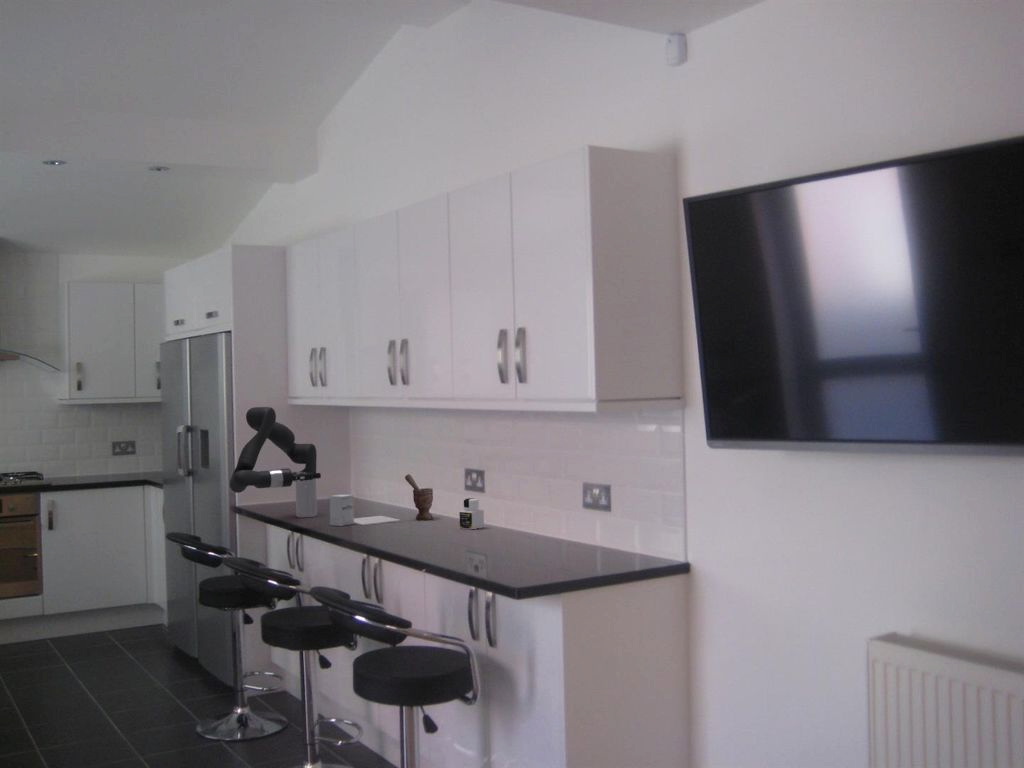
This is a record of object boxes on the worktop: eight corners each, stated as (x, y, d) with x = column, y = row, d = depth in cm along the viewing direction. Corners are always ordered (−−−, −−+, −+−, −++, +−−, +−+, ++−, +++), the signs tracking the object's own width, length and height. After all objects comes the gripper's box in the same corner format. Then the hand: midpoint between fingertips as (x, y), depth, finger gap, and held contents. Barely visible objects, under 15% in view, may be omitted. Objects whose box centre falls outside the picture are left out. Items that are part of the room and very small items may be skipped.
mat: (343, 521, 460) (343, 519, 460) (381, 516, 470) (381, 515, 470) (362, 525, 443) (362, 524, 443) (401, 521, 453) (401, 519, 453)
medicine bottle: (459, 528, 425) (458, 499, 425) (472, 526, 431) (471, 497, 431) (472, 529, 421) (471, 500, 420) (484, 527, 426) (483, 498, 426)
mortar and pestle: (414, 521, 450) (412, 475, 450) (404, 520, 457) (402, 474, 457) (437, 519, 457) (435, 473, 457) (427, 517, 464) (425, 472, 464)
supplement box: (341, 526, 444) (340, 496, 444) (329, 525, 448) (328, 495, 448) (354, 524, 450) (353, 494, 450) (342, 523, 454) (341, 493, 454)
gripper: (284, 470, 428) (324, 467, 437) (272, 468, 440) (311, 465, 449) (285, 488, 428) (324, 485, 437) (273, 486, 440) (311, 482, 449)
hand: (317, 475), depth 443 cm, fingers open, 5 cm apart
